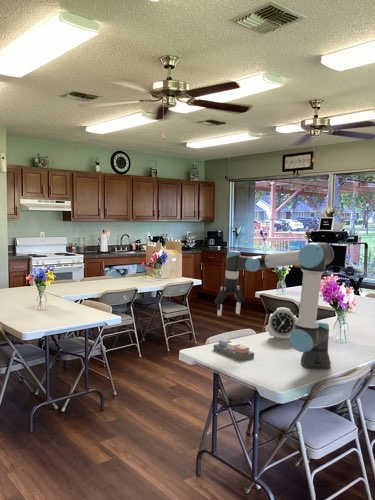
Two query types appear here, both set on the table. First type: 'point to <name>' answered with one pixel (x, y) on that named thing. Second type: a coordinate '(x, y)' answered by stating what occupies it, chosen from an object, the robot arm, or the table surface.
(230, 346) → the cream key
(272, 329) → the alarm clock
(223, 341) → the blue key
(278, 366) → the table surface
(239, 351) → the terracotta key
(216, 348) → the key board
